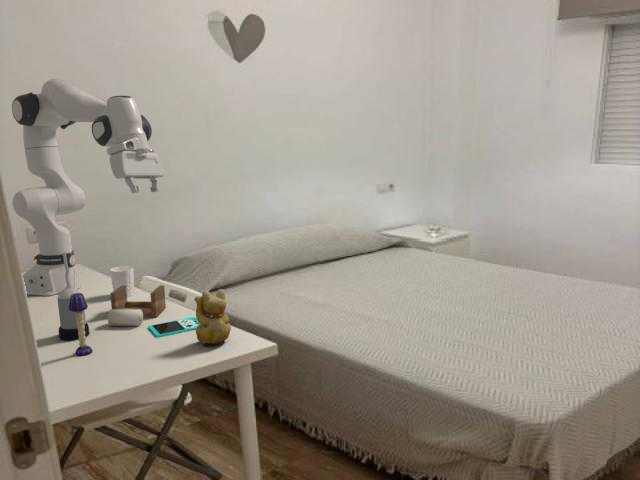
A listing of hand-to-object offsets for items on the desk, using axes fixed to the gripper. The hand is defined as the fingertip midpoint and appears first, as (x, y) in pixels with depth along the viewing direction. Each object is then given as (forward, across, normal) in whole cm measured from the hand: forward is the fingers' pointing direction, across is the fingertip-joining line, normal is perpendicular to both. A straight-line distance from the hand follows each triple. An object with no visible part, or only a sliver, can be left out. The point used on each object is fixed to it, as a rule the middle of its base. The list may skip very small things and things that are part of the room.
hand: (145, 192), depth 167 cm
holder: (+36, -7, -20) cm, 41 cm away
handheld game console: (+43, 0, -1) cm, 43 cm away
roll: (+38, +3, -17) cm, 41 cm away
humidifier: (+36, +15, -26) cm, 47 cm away
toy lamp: (+40, +25, -15) cm, 50 cm away
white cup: (+30, -22, -36) cm, 52 cm away
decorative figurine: (+48, +8, +15) cm, 51 cm away
